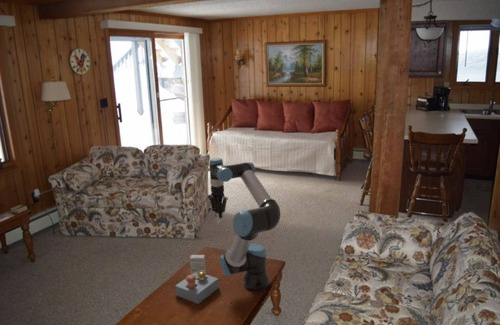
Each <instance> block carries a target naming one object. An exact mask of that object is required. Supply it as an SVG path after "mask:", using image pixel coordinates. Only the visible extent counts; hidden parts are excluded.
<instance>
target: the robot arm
mask: <svg viewBox="0 0 500 325" xmlns="http://www.w3.org/2000/svg"><path fill="white" fill-rule="evenodd" d="M208 164H209V165H208V166H209V174H210V175H209V176H210V177H209V179H210V192H211V193H210V194H208V198H209V201H210V205H211V209H212V210H211V211H212V212H214V213H215V218H216V224H219V225H220V224H221V223H222V222H223V221H222V220H223V214H224V213H225V211H226V207H227V202H228V200H229V197H227V196H225V186H224V183H225V182H230V181H231V180H233V179H239V178H241V180H242V182H243V183H244V185H245V187H246V188H247V189H248V191H249V192H250V194H251V197H252V198H253V199H254V201H255V202H256V204H257V205H258V207H257V208H252V209H246V210H241V211H238V212H236V213H235V214H234V216H233V219H232V221H233V222H232V228H233V231H234V233H235V237H234V239H233V242H232V245H231V247H230V248H229V249H228V250H227V251H225V254H221V255H219V263H220V264H219V265H220V268H221V271H222V273H223V275H224V276H227V277H228V276H233V275H236V274H240V273H245V274H244V277H243V281H242V282H243V286H244V287H245V288H246V289H248V290H250V291H261V290H264V289H267V288H268V287H269V286H270V283H271V282H270V277H269V274H268V272H267V252H266V248H265V247H264V246H263V245H261V244H257V243H252V241H254V240H256V239H257V237H258V235H259V233H264V232H267V231H271V230H273V229H274V228H276V227H277V226H278V224H279V222H280V221H281V220H280V219H281V209H280V205H279V203H277V201H276V200H275V199H273V198H272V197H271V195H270V194H269V193H268V192H267V190H266V188H265V186H264V185H263V184H262V183H261V181H260V180H259V178H258V177H257V175H256V167H255V164H254V163H253V162H251V161H250V162H242V163H235V164H229V165H224V160H223V158H220V157H213V158H211V159H209V163H208Z"/></svg>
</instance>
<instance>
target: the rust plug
mask: <svg viewBox="0 0 500 325" xmlns="http://www.w3.org/2000/svg"><path fill="white" fill-rule="evenodd" d="M185 279H186V281H188V288H190V289H193V288H195V280H196V276H195V275H191V274H189V275H188V274H187V276H186V277H185Z"/></svg>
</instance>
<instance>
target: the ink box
mask: <svg viewBox="0 0 500 325" xmlns="http://www.w3.org/2000/svg"><path fill="white" fill-rule="evenodd" d="M189 267H190V275H192V274H193V273H195V272H196V271H199V270H205V271H206V272H207V270H206V269H207V268H206V255H205V254H190V257H189Z"/></svg>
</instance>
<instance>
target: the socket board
mask: <svg viewBox="0 0 500 325" xmlns="http://www.w3.org/2000/svg"><path fill="white" fill-rule="evenodd" d="M197 272H198V271H196V272H195V273H193V274H192V275H195V276H196V280H195V288H193V289H190V288H188V281H186V278H185V279H183V280H181V281H180V282H178V283H177V284H176V285H175V286H174V288H175V296H176V297H180V298H182V299H184V300H187V301H188V302H189V301H190V302H192V303H194V304H197V305H199V304H201V303H202V302H203V301H204V300H205V299H206V298H208V297H209V296H211V295H212V294H213V293H215V291H217V290H218V289H219V287H220V286H219V278H217V277H215V276H212V275H209V274H207V275H206V280H204V281H203V282H202V281H200V280H199V277H198V276H197Z"/></svg>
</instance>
